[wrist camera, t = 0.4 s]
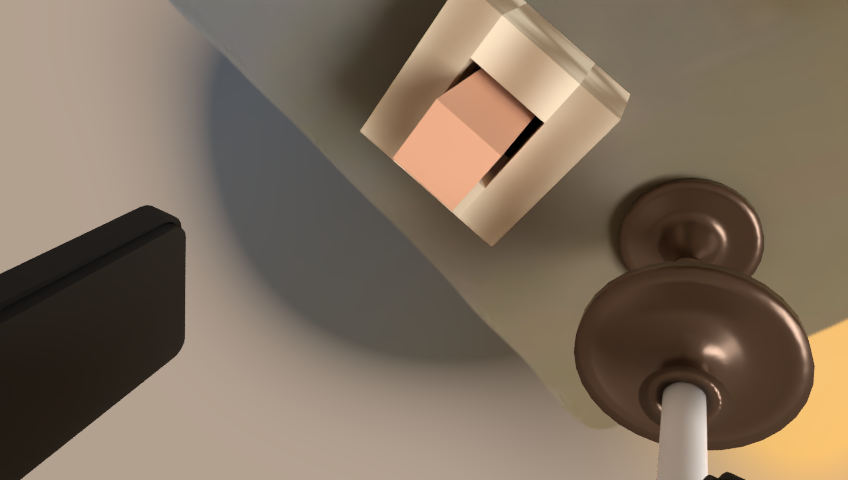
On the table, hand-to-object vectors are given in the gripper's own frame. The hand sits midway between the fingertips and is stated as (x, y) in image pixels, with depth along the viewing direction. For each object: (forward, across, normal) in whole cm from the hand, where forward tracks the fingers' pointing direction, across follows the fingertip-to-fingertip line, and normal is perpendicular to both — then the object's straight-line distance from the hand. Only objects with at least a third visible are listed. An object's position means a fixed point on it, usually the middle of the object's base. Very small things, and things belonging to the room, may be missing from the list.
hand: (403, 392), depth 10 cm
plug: (+34, +6, +5) cm, 35 cm away
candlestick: (+34, -9, +10) cm, 37 cm away
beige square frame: (+34, +6, +5) cm, 35 cm away
